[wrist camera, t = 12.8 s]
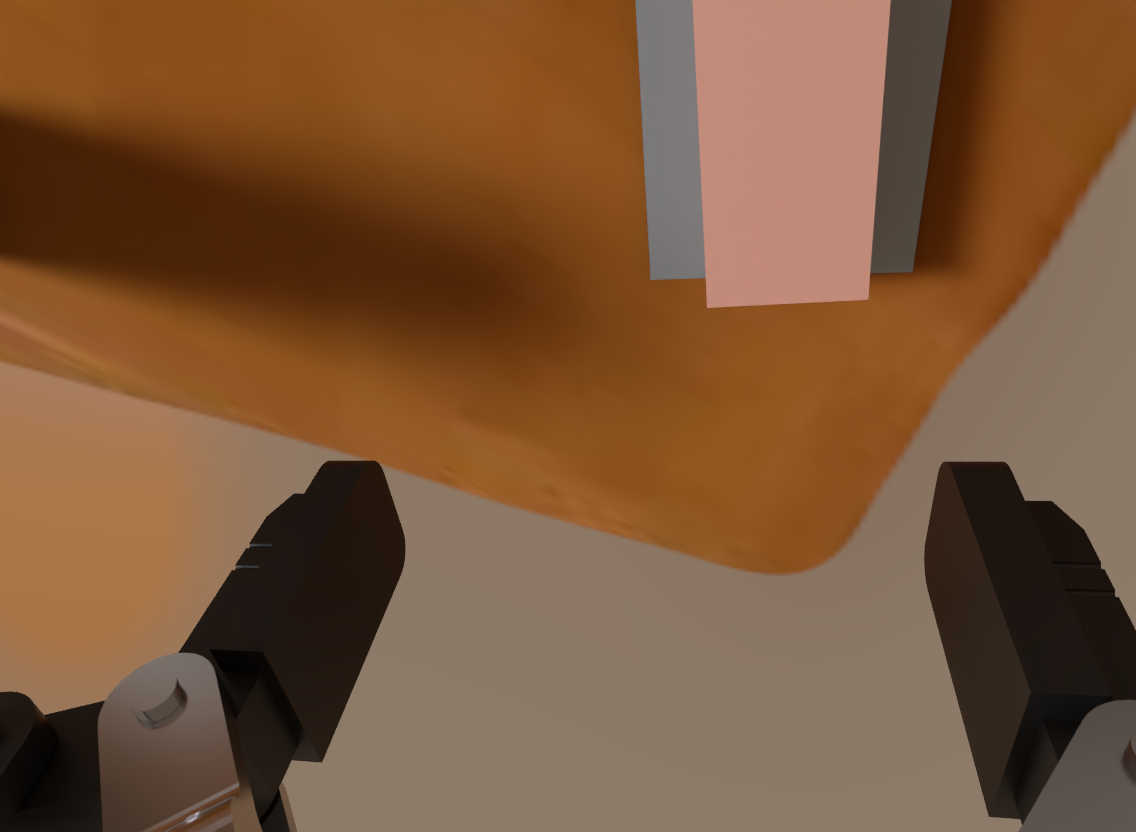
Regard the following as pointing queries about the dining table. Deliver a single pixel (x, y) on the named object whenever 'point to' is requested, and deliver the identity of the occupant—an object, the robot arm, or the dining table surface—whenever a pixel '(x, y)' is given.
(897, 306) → the dining table surface
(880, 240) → the mat
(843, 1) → the pink block
